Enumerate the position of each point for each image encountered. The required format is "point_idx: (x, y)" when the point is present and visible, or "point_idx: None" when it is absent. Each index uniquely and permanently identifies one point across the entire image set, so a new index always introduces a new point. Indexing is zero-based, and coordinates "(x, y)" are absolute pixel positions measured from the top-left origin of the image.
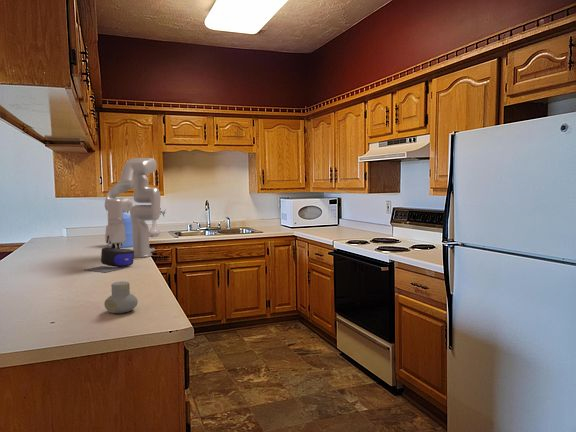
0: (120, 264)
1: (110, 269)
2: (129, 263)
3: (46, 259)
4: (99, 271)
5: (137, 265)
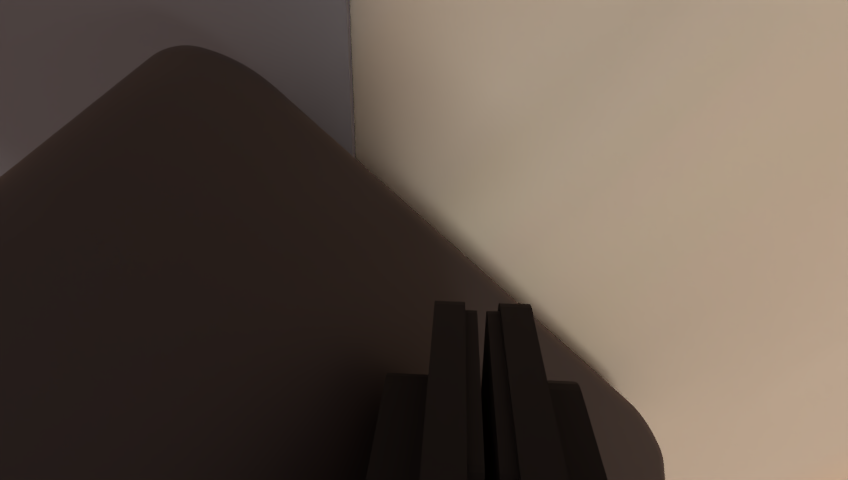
0: None
1: None
2: None
3: None
4: None
5: (697, 446)
